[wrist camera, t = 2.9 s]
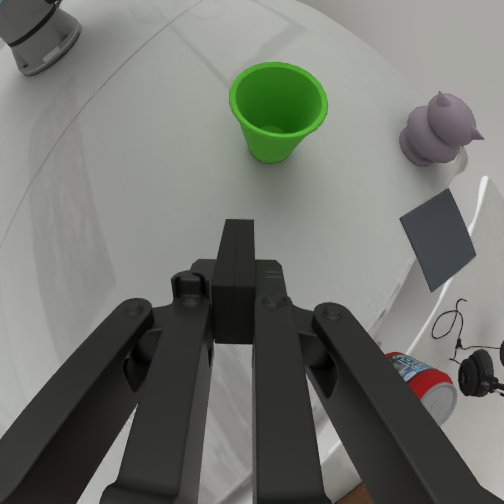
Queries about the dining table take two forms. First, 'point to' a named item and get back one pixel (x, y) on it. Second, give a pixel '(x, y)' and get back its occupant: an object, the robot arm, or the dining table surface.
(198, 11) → the dining table surface
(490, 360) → the headphones
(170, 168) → the dining table surface
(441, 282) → the placemat
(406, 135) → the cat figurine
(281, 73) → the cup
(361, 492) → the bread
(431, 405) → the beverage can
